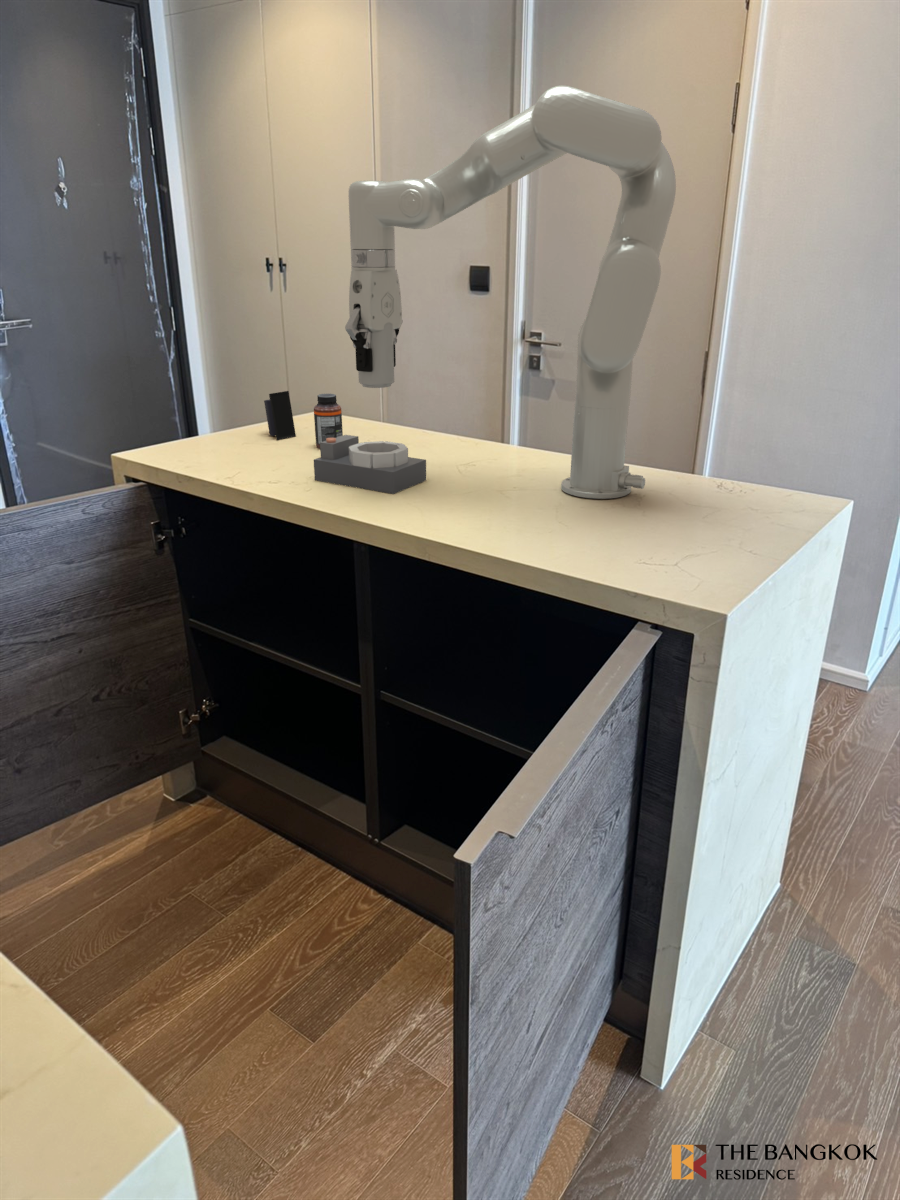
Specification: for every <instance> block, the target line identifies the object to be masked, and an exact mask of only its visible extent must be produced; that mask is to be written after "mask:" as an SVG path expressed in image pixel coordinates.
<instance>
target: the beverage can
mask: <svg viewBox="0 0 900 1200" xmlns="http://www.w3.org/2000/svg"><path fill="white" fill-rule="evenodd" d="M360 329H367V328H365V326H364V325H360ZM361 335H362V336H363V338H364V339H365V334H361ZM369 348H372V360H373V371H372V372H363V371H357V372H358V383H359V384H361V385H362V387H363V388H369V389H382V388H383V389H384V388H388V387H389V388H390V387H391V386H392V384H394V383H395V367H394V349H393V324H392V323H390V322H388V323H386V324H385V325H384V329H383V330H381V331H379V332H372V337H371V342H370V347H369Z"/></svg>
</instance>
